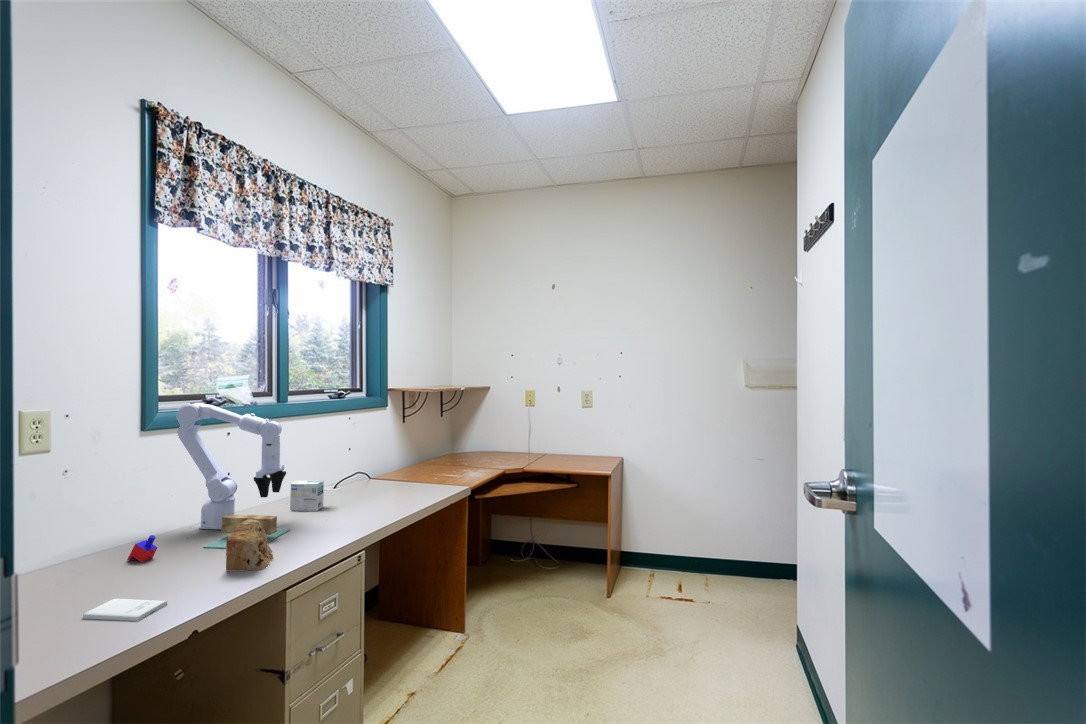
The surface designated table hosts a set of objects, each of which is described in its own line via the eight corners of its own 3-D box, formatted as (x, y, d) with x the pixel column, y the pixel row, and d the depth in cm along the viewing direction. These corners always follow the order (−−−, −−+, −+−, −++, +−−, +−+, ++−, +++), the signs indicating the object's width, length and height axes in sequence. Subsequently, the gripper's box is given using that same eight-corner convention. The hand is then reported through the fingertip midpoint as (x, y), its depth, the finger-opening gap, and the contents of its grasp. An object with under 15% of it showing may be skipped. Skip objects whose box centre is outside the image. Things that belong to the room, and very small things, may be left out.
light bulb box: (323, 507, 210) (324, 480, 211) (317, 511, 203) (318, 483, 204) (296, 507, 210) (297, 479, 210) (289, 511, 203) (290, 483, 203)
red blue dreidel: (138, 567, 146) (151, 542, 146) (126, 559, 147) (139, 534, 147) (149, 563, 150) (162, 538, 150) (138, 555, 150) (150, 531, 150)
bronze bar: (221, 533, 167) (221, 517, 167) (228, 530, 171) (228, 514, 171) (270, 534, 167) (271, 518, 167) (276, 531, 170) (277, 516, 170)
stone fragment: (260, 572, 154) (233, 529, 155) (291, 552, 155) (264, 509, 156) (234, 589, 140) (204, 542, 141) (268, 567, 141) (238, 519, 142)
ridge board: (203, 548, 159) (203, 541, 159) (243, 528, 179) (243, 523, 179) (255, 549, 158) (255, 543, 158) (289, 530, 178) (289, 524, 178)
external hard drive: (115, 604, 121) (167, 606, 120) (82, 621, 113) (138, 623, 112) (115, 597, 121) (167, 599, 120) (82, 613, 113) (138, 615, 112)
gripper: (270, 459, 178) (269, 499, 178) (292, 452, 192) (291, 490, 192) (250, 459, 178) (249, 499, 178) (273, 452, 193) (273, 490, 192)
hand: (270, 494), depth 185 cm, fingers open, 7 cm apart
